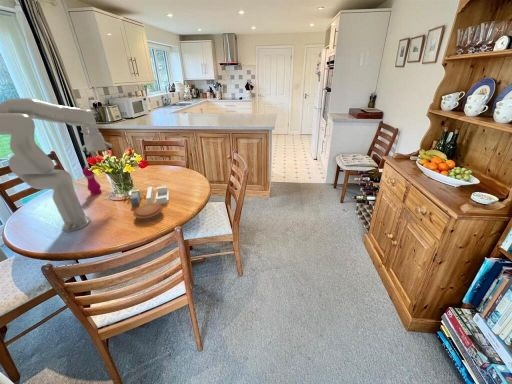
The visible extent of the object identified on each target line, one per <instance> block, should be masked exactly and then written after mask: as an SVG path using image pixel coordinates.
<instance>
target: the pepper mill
mask: <svg viewBox="0 0 512 384" xmlns="http://www.w3.org/2000/svg"><path fill="white" fill-rule="evenodd" d="M90 168H91V167H89V166H88V165H85V166H84V168H83V170H82V174H83V175H84V176H85V178H86V180H87V191H89V193H90V195H92V196H96V195H98V196H99V194H101V193H102V192H103V191H102V189H101V185H100V184H101V183H99V182H98V181H97V180H96V178H95V174H94V173H93V172H91V171H89V170H88V169H90Z"/></svg>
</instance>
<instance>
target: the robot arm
mask: <svg viewBox="0 0 512 384" xmlns="http://www.w3.org/2000/svg"><path fill="white" fill-rule="evenodd" d="M34 120H39V121H45V122H52V123H57V124H59V123H60V124H67V125H69V126H72V127H73V126H74V127H75V126H77V127H80V126H81V128H82V129H81V130H80V133H82V134H83V135H82V136H83V141H84V145H82V146H81V147H79V149H80V150H81V151H82V152H83V153H84V154H86V155H87V156H88V159H89V158H90V157H93V154H92V153H91V152H98V151H99V152H100V151H105V152H107V151H108V150H110V151H111V150H112V148H113V144H112V143H110V142H106V141H105V138H104V136H103V135H102V132H100V130H99V127H98V124H97V122H96V118H95V115H94V112H93V110H92V109H88V108H87V109H85V108H84V109H82V108H78V107H71V106H65V105H62V104H61V105H60V104H54V103H51V102H47V101H43V100H40V99H35V98H31V97H28V98H23V97H21V98H17V97H15V98H9V99H6V100H4V101H3V102H1V103H0V136H6V135H7V136H8V135H9V136H10V139H9V148H10V150H11V153H13V155H11V156H10V158H9V160H8V167H9V169H10V171H12V173H14V175H16V176H17V177H18V178H19V179H20V180H22V181H23V182H24V183H26V184H27V185H28V186H29V187H31V188H33V189H36V190H53V193H52V201H53V202H54V205H55V206H56V208H57V211H58V213H59V214H60V217H61V219H62V221H63V225H62V229H63V231H64V232H65V233H68V232H73V231H77V230H80V229H83V228H85V227H86V226H88V225H89V224H90V223H91V221H92V219H91V217H90V216H86V214H85V211H84V209H83V207H82V205H81V202H80V200H79V198H78V195H77V192H76V191H75V188H74V183H73V177H72V174H70V173H69V172H68V171H67V170H63V169H55V163H54V161H53V160H52V158H51V157H49V155H47V153H45V151H43V150H42V148H40V147H39V145H38V144H37V143H36V140H35V131H36V125H35V121H34ZM107 146H108V147H107Z"/></svg>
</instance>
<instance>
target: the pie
mask: <svg viewBox="0 0 512 384" xmlns="http://www.w3.org/2000/svg"><path fill="white" fill-rule="evenodd" d="M163 208H164V207H163V204H157V203H156V202H155V203H154V202H153V203H150V204H148V203H145V204H143V205H141V206H140V205H139V206H138V207H137V208H136V209H134V211H133V213H132V214H133V217H134V218H137V219H139V220H140V221H143V222H150V221H153V220H156V219H158V217H160V215H161V213H162V211H163Z"/></svg>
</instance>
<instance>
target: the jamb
mask: <svg viewBox="0 0 512 384" xmlns="http://www.w3.org/2000/svg"><path fill="white" fill-rule="evenodd" d="M156 190H157V192H156V193H155V192H154V190H153V186H148V187H147V192H146V197H145V200H146V204H150V203H154V201H155V204H160V205H164V204H168V202H169V201H170V191H169V190H168V187H167V186H166V185H164V186H157V187H156ZM154 193H155V194H154ZM154 195H155V200H154Z"/></svg>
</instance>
